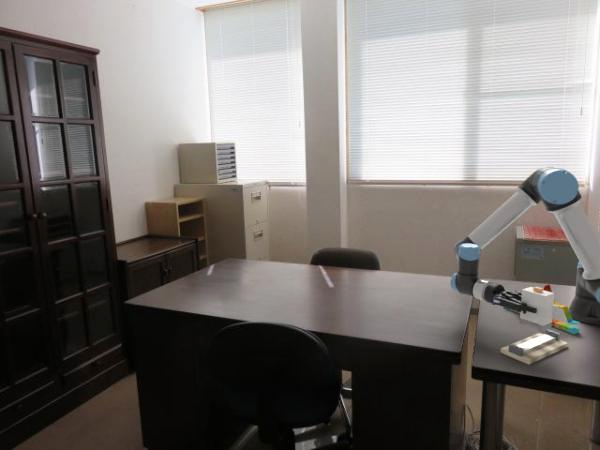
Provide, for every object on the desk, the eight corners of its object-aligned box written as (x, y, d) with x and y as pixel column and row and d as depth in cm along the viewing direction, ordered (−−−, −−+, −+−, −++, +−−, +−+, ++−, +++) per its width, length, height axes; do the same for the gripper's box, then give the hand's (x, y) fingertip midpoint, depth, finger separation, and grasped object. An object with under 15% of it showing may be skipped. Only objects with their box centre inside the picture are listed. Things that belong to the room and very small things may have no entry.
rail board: (539, 336, 163) (539, 332, 162) (567, 346, 154) (567, 342, 154) (500, 352, 151) (500, 348, 151) (528, 364, 143) (529, 360, 143)
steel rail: (547, 335, 160) (547, 329, 159) (559, 339, 156) (560, 333, 156) (508, 351, 149) (508, 344, 148) (520, 356, 145) (521, 349, 145)
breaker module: (528, 320, 156) (531, 283, 153) (551, 328, 149) (554, 289, 147) (519, 323, 153) (522, 286, 151) (542, 331, 147) (545, 292, 144)
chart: (503, 308, 191) (505, 274, 188) (508, 307, 192) (510, 272, 189) (573, 335, 164) (576, 295, 161) (578, 333, 165) (582, 293, 162)
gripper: (504, 297, 170) (567, 316, 151) (472, 306, 161) (535, 329, 142) (505, 277, 169) (569, 295, 149) (473, 286, 160) (537, 306, 140)
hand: (552, 311), depth 146 cm, fingers closed on breaker module, 5 cm apart
